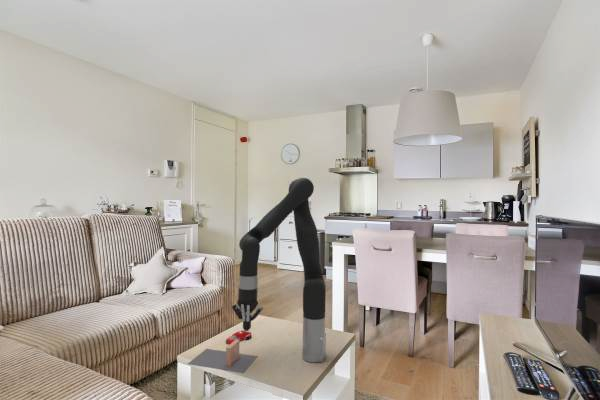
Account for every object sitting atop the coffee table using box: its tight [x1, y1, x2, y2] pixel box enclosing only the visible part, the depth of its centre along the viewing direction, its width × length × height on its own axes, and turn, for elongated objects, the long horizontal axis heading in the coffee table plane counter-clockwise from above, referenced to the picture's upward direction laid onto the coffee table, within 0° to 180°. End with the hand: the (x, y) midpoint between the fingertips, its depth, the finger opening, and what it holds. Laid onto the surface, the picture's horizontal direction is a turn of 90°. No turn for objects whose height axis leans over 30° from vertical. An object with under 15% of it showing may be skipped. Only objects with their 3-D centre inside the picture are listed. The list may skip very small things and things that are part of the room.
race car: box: [225, 330, 253, 345], centre depth 152 cm, size 13×5×4 cm, turn 137°
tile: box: [225, 340, 240, 366], centre depth 131 cm, size 2×8×7 cm, turn 165°
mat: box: [187, 348, 259, 374], centre depth 132 cm, size 24×14×1 cm, turn 75°
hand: (246, 330), depth 130 cm, fingers closed
